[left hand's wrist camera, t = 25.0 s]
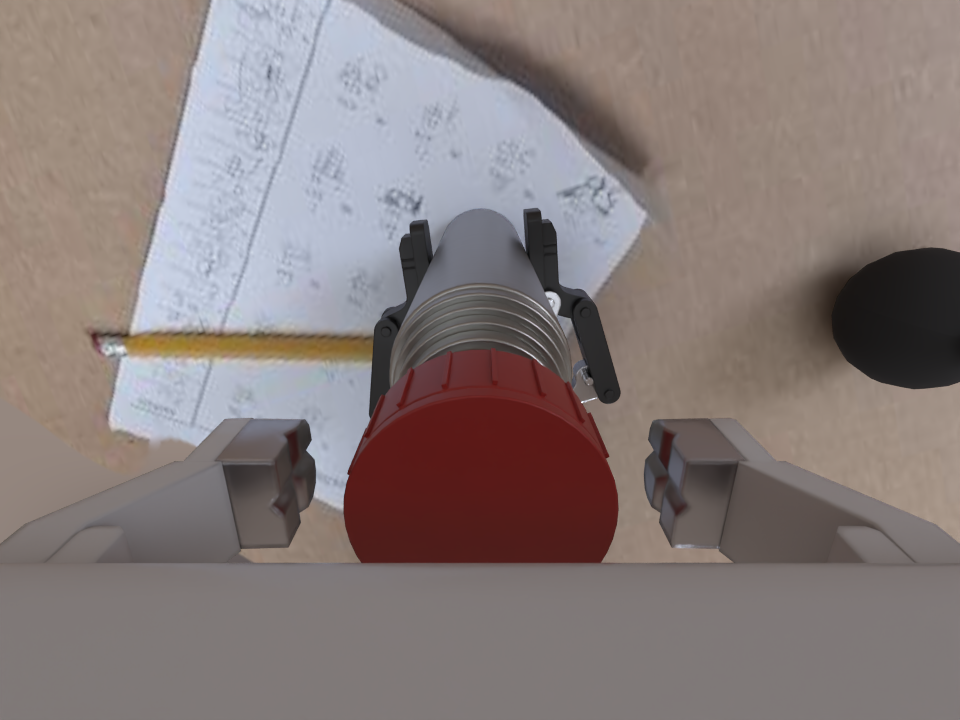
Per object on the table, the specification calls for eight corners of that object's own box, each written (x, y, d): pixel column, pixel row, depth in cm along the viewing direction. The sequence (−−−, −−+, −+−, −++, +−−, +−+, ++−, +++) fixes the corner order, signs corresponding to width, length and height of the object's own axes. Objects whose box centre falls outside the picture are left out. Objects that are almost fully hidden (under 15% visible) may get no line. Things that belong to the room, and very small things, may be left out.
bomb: (892, 368, 34) (1089, 470, 23) (782, 343, 34) (931, 436, 23) (957, 254, 32) (1217, 308, 20) (838, 225, 31) (1040, 264, 20)
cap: (596, 537, 11) (619, 614, 9) (383, 550, 11) (363, 629, 9) (597, 337, 9) (626, 382, 7) (346, 356, 9) (313, 405, 7)
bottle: (523, 283, 32) (624, 580, 10) (447, 292, 33) (373, 604, 10) (515, 203, 31) (616, 341, 8) (435, 214, 31) (310, 378, 8)
